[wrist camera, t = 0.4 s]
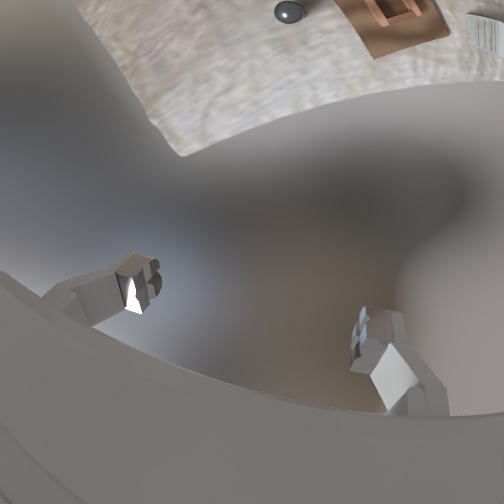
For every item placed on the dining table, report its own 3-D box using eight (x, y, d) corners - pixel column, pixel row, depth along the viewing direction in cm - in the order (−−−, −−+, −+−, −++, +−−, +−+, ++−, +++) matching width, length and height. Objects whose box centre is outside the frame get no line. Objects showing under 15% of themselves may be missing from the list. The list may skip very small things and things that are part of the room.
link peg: (278, 9, 34) (268, 9, 27) (296, 0, 32) (291, -4, 25) (291, 25, 36) (285, 28, 29) (309, 15, 34) (307, 16, 27)
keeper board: (313, -25, 27) (313, -28, 24) (394, -51, 16) (400, -55, 14) (372, 58, 38) (377, 62, 35) (446, 35, 27) (455, 38, 25)
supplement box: (492, 22, 19) (528, 34, 11) (493, 52, 24) (527, 70, 17) (465, 12, 21) (498, 19, 13) (466, 43, 26) (499, 57, 19)
